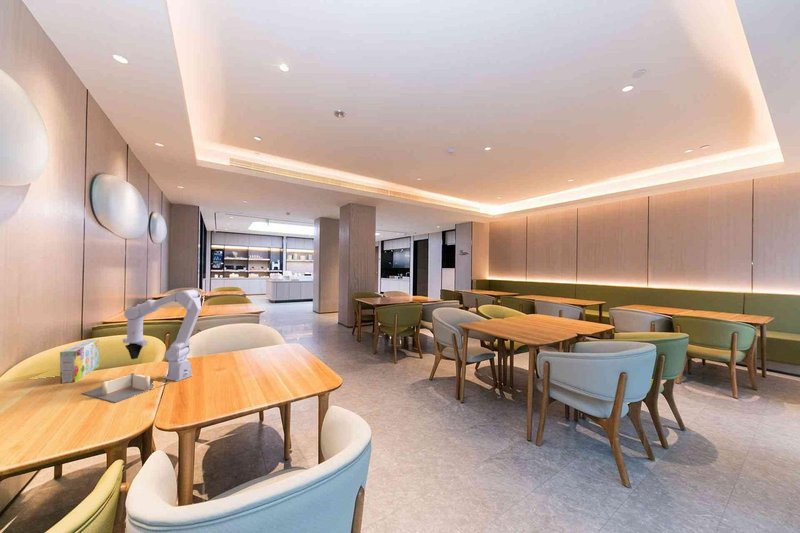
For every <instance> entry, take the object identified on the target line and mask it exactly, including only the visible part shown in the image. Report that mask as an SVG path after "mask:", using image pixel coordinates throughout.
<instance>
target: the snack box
mask: <svg viewBox="0 0 800 533" xmlns="http://www.w3.org/2000/svg"><path fill="white" fill-rule="evenodd" d="M99 348H100V339H99V338H96V339H87V340H83V341H82V342H79V343H77V344H75V345H73V346H71V347H68V348H66V349H64V350H62V351H59V360H60V361H59V363H60V364H59V368H60V369H59V374H60V375H59V376H60V377H59V378H60V379H59V381H60V382H59V384H60V383H61V384H67V383H66V382H69V383H75V381H76V382H77V381H79V380H80V379H82V378H83V377H85V376H86V375H85V374H84V373H88V374H90V373H91V372H92V371H94V370H97V369H98V368H99V367H100V349H99ZM89 372H90V373H89ZM78 379H79V380H78Z"/></svg>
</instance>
